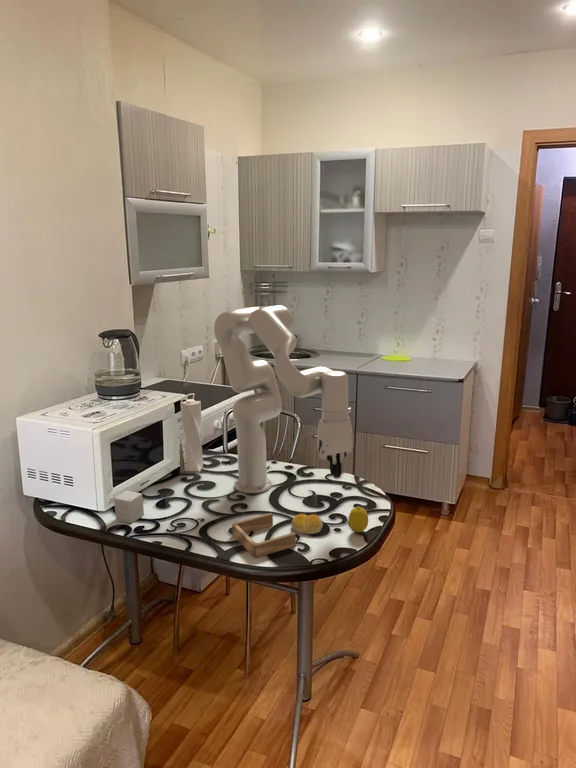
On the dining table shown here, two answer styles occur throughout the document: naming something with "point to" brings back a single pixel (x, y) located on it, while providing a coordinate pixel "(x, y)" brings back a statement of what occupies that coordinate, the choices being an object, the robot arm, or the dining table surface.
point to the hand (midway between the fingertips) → (335, 474)
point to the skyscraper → (191, 436)
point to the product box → (129, 506)
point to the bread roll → (307, 524)
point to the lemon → (358, 519)
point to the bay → (265, 546)
